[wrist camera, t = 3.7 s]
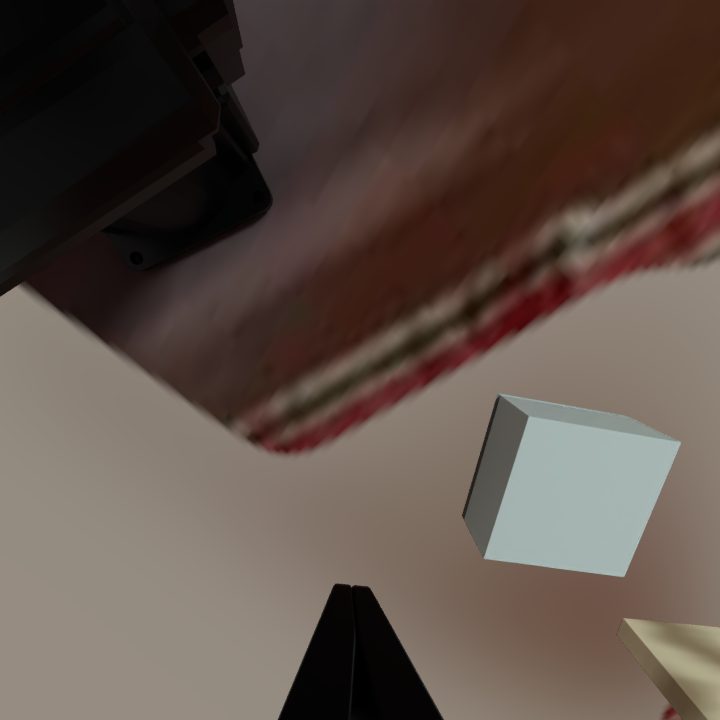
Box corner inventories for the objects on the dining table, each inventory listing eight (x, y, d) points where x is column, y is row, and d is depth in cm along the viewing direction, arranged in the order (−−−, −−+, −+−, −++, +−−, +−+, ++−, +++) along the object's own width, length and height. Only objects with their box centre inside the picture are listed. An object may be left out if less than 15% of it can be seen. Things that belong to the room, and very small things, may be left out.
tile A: (461, 515, 19) (483, 558, 16) (497, 393, 17) (528, 416, 15) (582, 532, 20) (624, 577, 17) (626, 415, 18) (681, 442, 15)
